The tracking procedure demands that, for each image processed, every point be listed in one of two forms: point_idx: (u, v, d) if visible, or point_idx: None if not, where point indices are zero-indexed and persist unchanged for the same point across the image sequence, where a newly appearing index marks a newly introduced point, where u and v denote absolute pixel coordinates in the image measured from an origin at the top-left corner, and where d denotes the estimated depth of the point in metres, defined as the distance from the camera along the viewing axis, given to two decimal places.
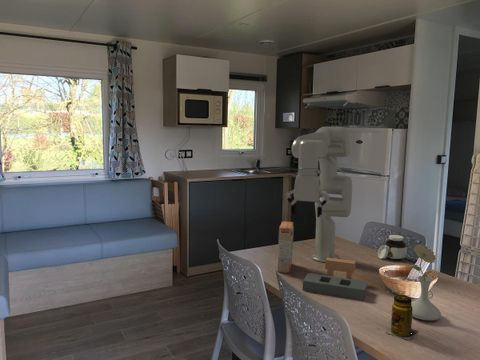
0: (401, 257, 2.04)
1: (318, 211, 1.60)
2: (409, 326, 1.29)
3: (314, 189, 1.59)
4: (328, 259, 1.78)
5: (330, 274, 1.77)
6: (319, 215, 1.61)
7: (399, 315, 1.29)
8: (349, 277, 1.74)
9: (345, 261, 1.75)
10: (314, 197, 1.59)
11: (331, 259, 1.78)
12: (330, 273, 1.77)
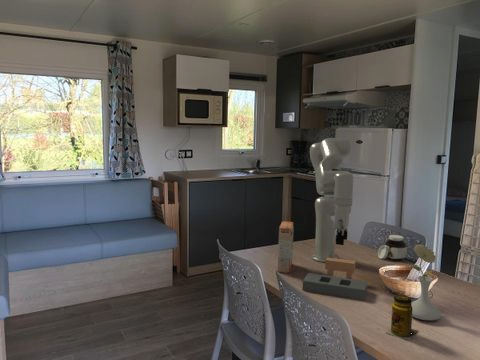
0: (401, 257, 2.04)
1: None
2: (409, 326, 1.29)
3: None
4: (328, 259, 1.78)
5: (330, 274, 1.77)
6: (343, 238, 1.80)
7: (399, 315, 1.29)
8: (349, 277, 1.74)
9: (345, 261, 1.75)
10: (348, 222, 1.76)
11: (331, 259, 1.78)
12: (330, 273, 1.77)
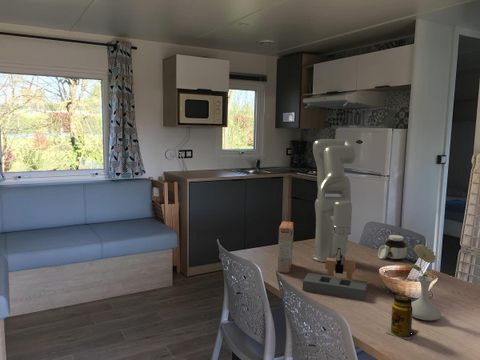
0: (401, 257, 2.04)
1: None
2: (409, 326, 1.29)
3: None
4: (328, 259, 1.78)
5: (330, 274, 1.77)
6: None
7: (399, 315, 1.29)
8: (349, 277, 1.74)
9: (345, 261, 1.75)
10: None
11: (331, 259, 1.78)
12: (330, 273, 1.77)
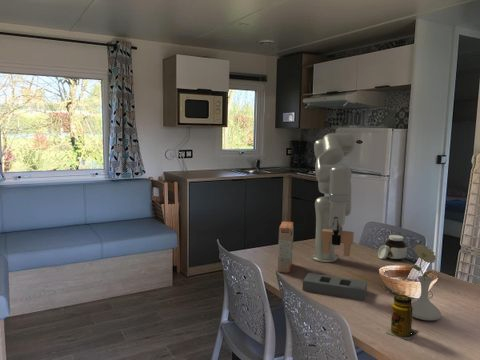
0: (401, 257, 2.04)
1: None
2: (409, 326, 1.29)
3: None
4: (324, 230, 1.65)
5: (326, 246, 1.64)
6: None
7: (399, 315, 1.29)
8: (347, 249, 1.61)
9: (343, 232, 1.63)
10: (344, 220, 1.66)
11: (327, 230, 1.65)
12: (326, 245, 1.64)
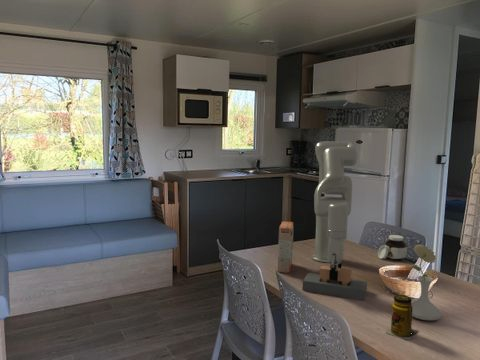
0: (401, 257, 2.04)
1: None
2: (409, 326, 1.29)
3: (343, 247, 1.67)
4: (322, 267, 1.67)
5: None
6: None
7: (399, 315, 1.29)
8: None
9: (341, 270, 1.64)
10: (342, 255, 1.67)
11: (326, 267, 1.67)
12: None
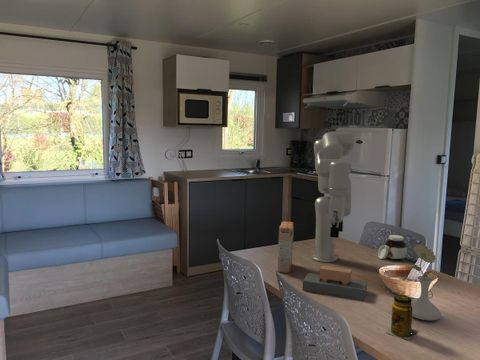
0: (401, 257, 2.04)
1: (342, 226, 1.70)
2: (409, 326, 1.29)
3: None
4: (322, 267, 1.67)
5: None
6: (339, 230, 1.71)
7: (399, 315, 1.29)
8: None
9: (341, 270, 1.64)
10: None
11: (326, 267, 1.67)
12: None
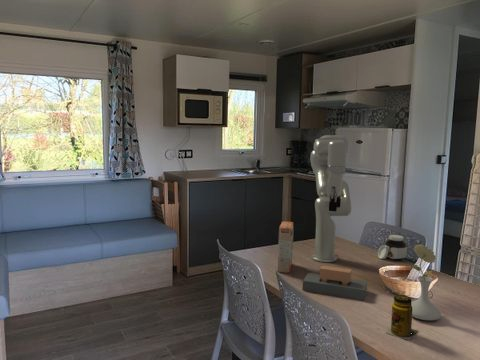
0: (401, 257, 2.04)
1: (340, 202, 1.83)
2: (409, 326, 1.29)
3: None
4: (322, 267, 1.67)
5: None
6: (336, 206, 1.84)
7: (399, 315, 1.29)
8: None
9: (341, 270, 1.64)
10: (341, 190, 1.80)
11: (326, 267, 1.67)
12: None
